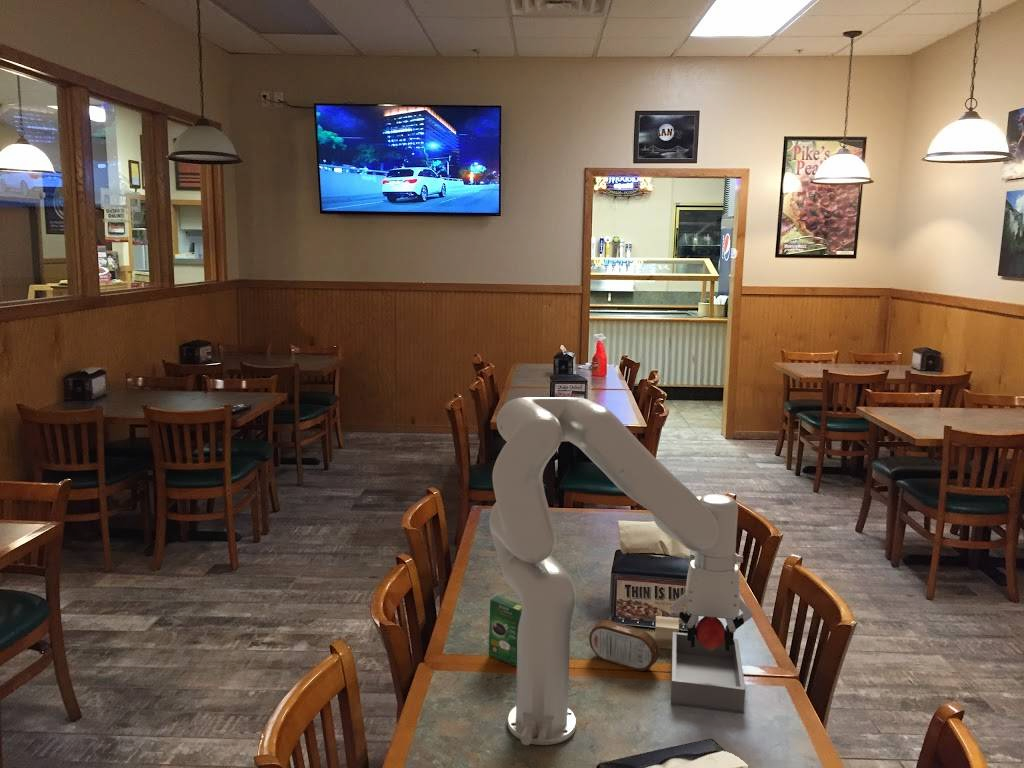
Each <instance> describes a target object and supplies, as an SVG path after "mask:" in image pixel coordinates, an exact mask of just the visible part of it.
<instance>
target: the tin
mask: <svg viewBox="0 0 1024 768" xmlns="http://www.w3.org/2000/svg"><path fill="white" fill-rule="evenodd" d="M588 641H589V645H590V648H591V650H592V652H593V653H594V654H595V655H596V656H597V658H600V659H601V660H604V661H606V662H609V661H610V662H609V663H612V662H613V663H612V664H616V665H619V666H622V667H625V668H627V669H632V670H634V671H639V672H643V671H646V670H649V669H650V668H651V667H653V665H654V664H655V663H656V662H657V660H658V659H659V655H660V651H659V650H660V649H659V648H658V645H657V643H656V641H655V637H653V636H652V635H651V634H650V633H648V632H647V631H645V630H643V629H639V628H636V627H633V626H628V625H625V624H621V623H619V622H615V621H611V620H608V619H606V620H605V619H604V620H600V621H598V622H597V623H596V624H595V625H594V626H593V628H592V629H591V630H590V632H589V637H588Z"/></svg>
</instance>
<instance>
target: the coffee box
mask: <svg viewBox="0 0 1024 768" xmlns="http://www.w3.org/2000/svg"><path fill="white" fill-rule="evenodd" d="M521 613H522V606H521V603H519V602H516V601H513V600H510V599H507V598H505V597H502V596H499V595H496V596H494V597H492V598H491V599H490V600H489V627H488V630H489V631H488V634H489V635H488V656H489V657H492V658H494V659H497V660H499V661H502V662H504V663H506V664H509V665H511V666H514V667H516V668H517V634H518V625H519V621H520V617H521Z"/></svg>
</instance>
